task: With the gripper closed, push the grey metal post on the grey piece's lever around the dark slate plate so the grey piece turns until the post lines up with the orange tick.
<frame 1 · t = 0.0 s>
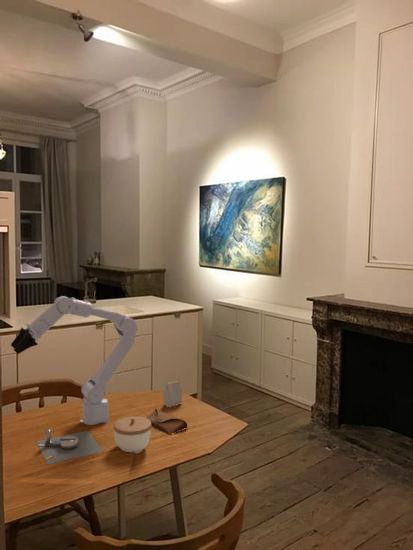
hand: (14, 349, 158), 32 cm above the table, tool tilted 50°, fingers open, 7 cm apart
plate: (69, 449, 153), on the table
lidded bowl: (132, 449, 154), on the table
tea bag: (172, 405, 195), on the table
grey piece: (61, 437, 153), point 4 cm above the table, hinge at 0.0°
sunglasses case: (163, 426, 175), on the table
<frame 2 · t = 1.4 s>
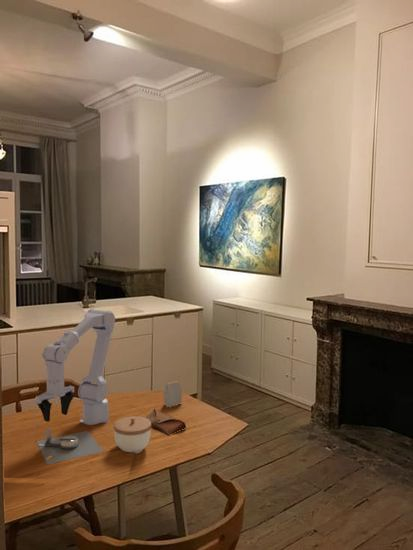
hand: (55, 417, 156), 9 cm above the table, tool pointing down, fingers open, 7 cm apart
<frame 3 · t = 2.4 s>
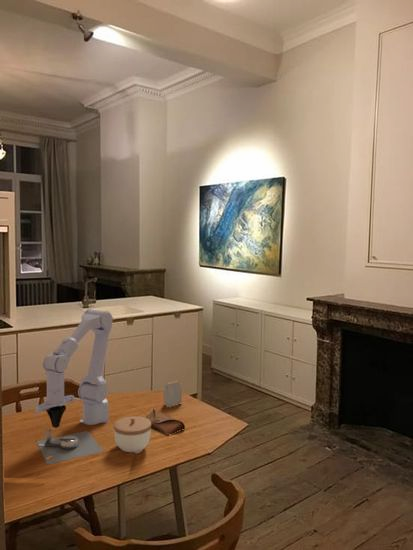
hand: (55, 426, 157), 6 cm above the table, tool pointing down, fingers closed
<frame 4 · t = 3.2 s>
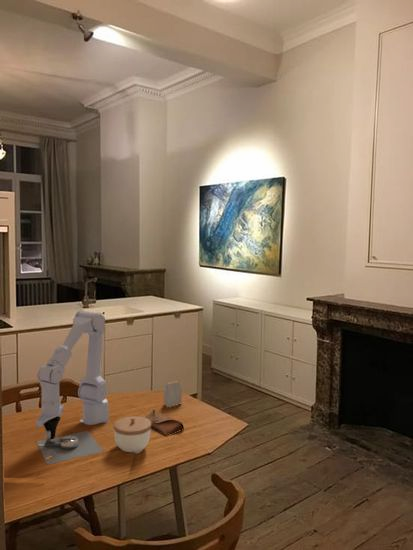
hand: (50, 438, 155), 3 cm above the table, tool pointing down, fingers closed
grey piece: (61, 438, 153), point 4 cm above the table, hinge at 2.0°, touching gripper
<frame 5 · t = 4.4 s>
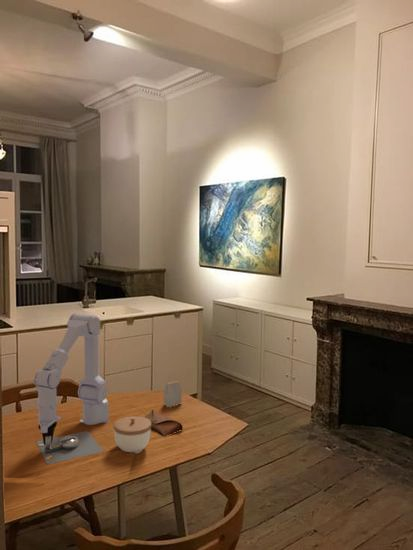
hand: (48, 444, 150), 3 cm above the table, tool pointing down, fingers closed, pressing on grey piece
grey piece: (61, 439, 152), point 4 cm above the table, hinge at 37.5°, touching gripper
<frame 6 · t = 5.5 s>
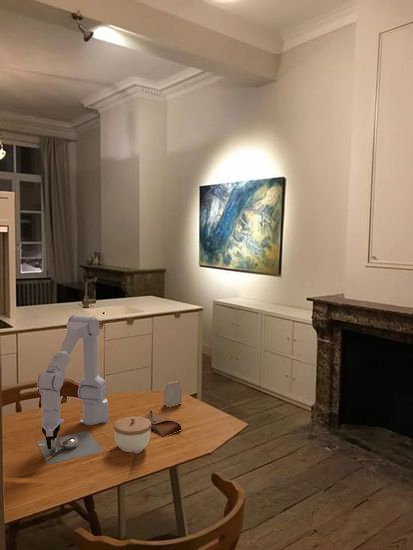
hand: (51, 447, 148), 3 cm above the table, tool pointing down, fingers closed, pressing on grey piece
grey piece: (63, 441, 151), point 4 cm above the table, hinge at 63.8°, touching gripper
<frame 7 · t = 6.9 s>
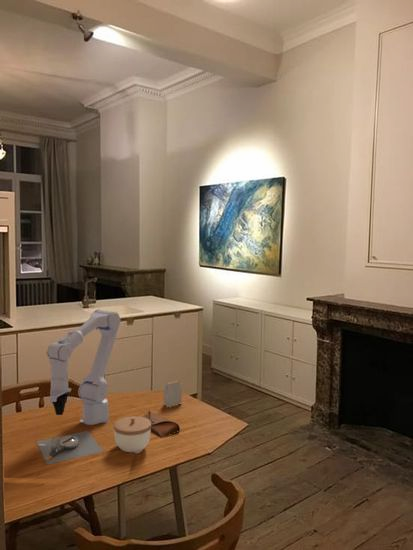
hand: (59, 414, 160), 9 cm above the table, tool pointing down, fingers closed
grey piece: (63, 441, 151), point 4 cm above the table, hinge at 63.6°
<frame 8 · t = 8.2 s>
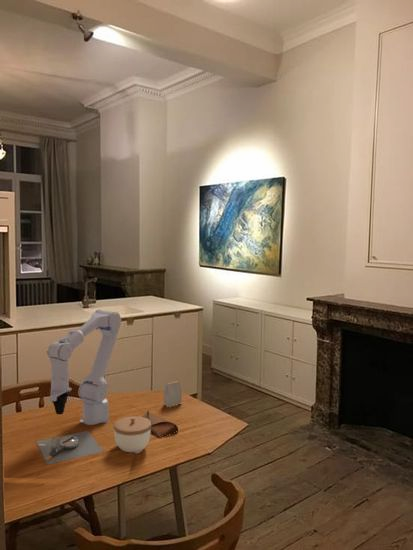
hand: (59, 413, 160), 9 cm above the table, tool pointing down, fingers closed
at the end: grey piece at +64° (first picture: +0°); grey piece touching nothing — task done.
